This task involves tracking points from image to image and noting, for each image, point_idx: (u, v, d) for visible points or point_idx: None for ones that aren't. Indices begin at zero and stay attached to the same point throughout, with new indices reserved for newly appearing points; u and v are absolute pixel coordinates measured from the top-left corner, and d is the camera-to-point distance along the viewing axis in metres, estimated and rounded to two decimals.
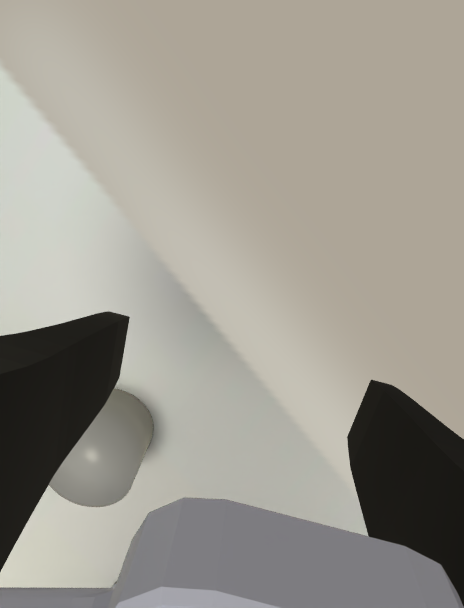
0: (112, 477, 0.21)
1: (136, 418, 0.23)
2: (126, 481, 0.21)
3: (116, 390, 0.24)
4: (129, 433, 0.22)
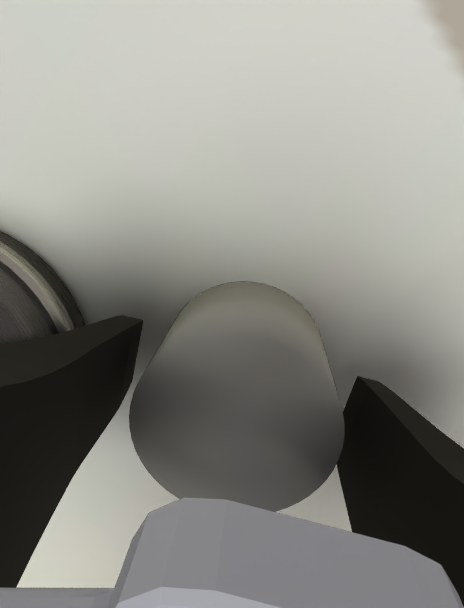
0: (293, 450, 0.10)
1: (314, 333, 0.11)
2: (323, 458, 0.10)
3: (261, 284, 0.12)
4: (321, 355, 0.10)
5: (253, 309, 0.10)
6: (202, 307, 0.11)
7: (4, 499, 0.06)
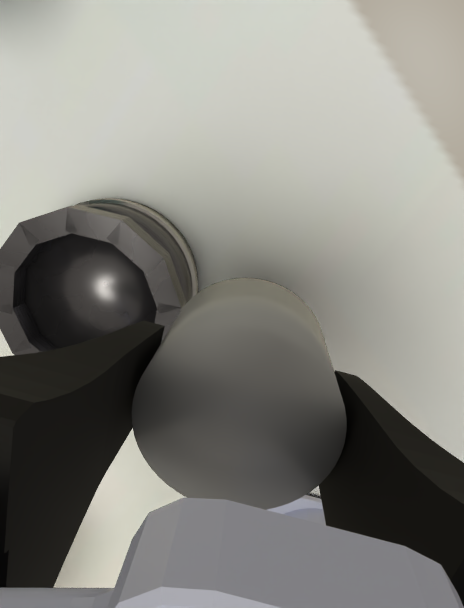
0: (295, 445, 0.10)
1: (316, 329, 0.11)
2: (325, 454, 0.10)
3: (263, 281, 0.12)
4: (323, 351, 0.10)
5: (255, 305, 0.10)
6: (204, 303, 0.11)
7: (46, 510, 0.06)
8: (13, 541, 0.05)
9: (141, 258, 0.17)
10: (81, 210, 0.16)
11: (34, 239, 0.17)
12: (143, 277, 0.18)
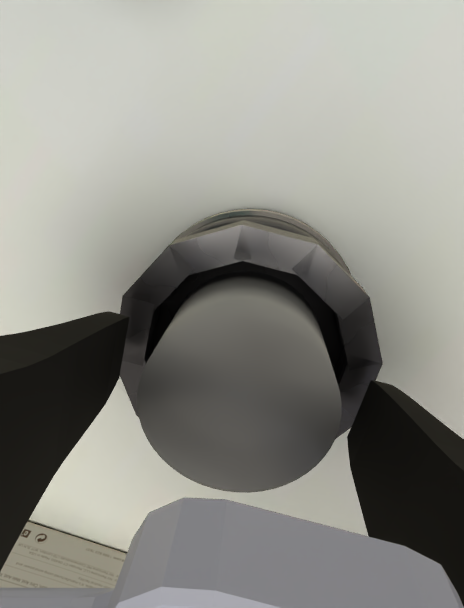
0: (292, 429, 0.10)
1: (313, 320, 0.12)
2: (321, 437, 0.10)
3: (262, 274, 0.13)
4: (320, 340, 0.11)
5: (256, 295, 0.11)
6: (207, 294, 0.11)
7: None
8: None
9: (337, 296, 0.12)
10: (260, 229, 0.12)
11: (187, 268, 0.12)
12: (320, 318, 0.13)
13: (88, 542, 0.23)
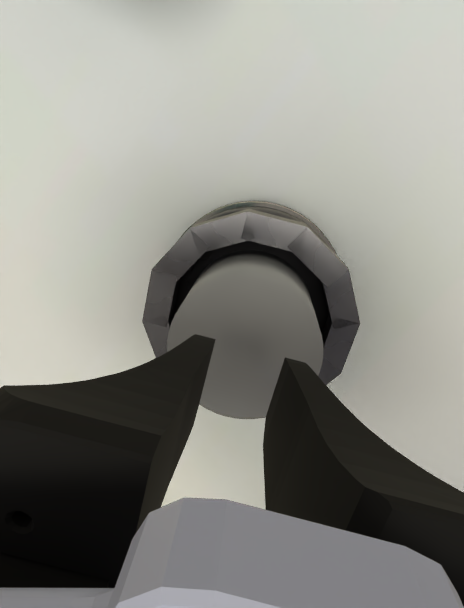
0: None
1: (304, 287, 0.15)
2: None
3: (263, 252, 0.16)
4: (307, 299, 0.14)
5: (258, 265, 0.14)
6: (219, 266, 0.14)
7: None
8: None
9: (323, 269, 0.15)
10: (262, 215, 0.15)
11: (204, 246, 0.15)
12: (310, 288, 0.16)
13: None
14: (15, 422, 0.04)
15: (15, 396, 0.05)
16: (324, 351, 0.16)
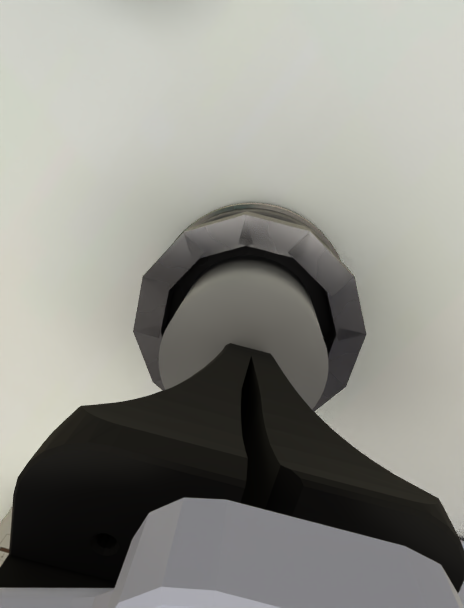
0: None
1: (306, 295, 0.14)
2: (312, 389, 0.12)
3: (262, 258, 0.15)
4: (311, 309, 0.13)
5: (257, 273, 0.13)
6: (215, 273, 0.13)
7: None
8: None
9: (327, 276, 0.14)
10: (261, 219, 0.14)
11: (199, 252, 0.14)
12: (313, 297, 0.15)
13: None
14: (107, 446, 0.04)
15: (99, 418, 0.05)
16: None
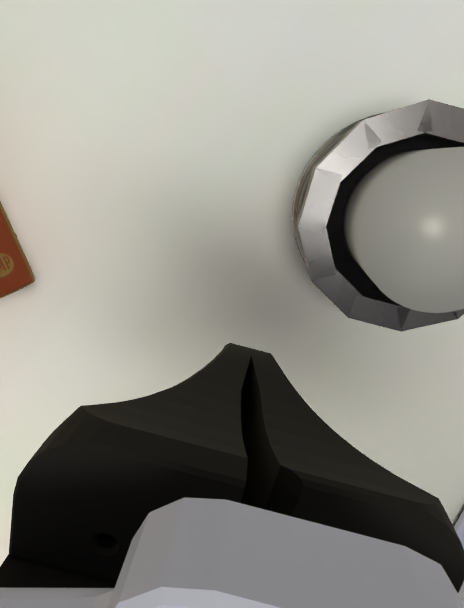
0: None
1: None
2: None
3: None
4: None
5: None
6: (401, 155, 0.14)
7: None
8: None
9: None
10: (443, 104, 0.14)
11: (376, 140, 0.14)
12: None
13: None
14: (107, 446, 0.04)
15: (99, 418, 0.05)
16: None
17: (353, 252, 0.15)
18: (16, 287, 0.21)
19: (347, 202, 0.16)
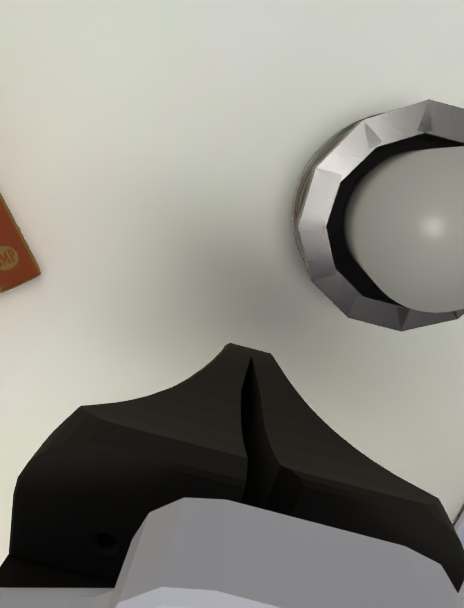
0: None
1: None
2: None
3: None
4: None
5: None
6: (401, 155, 0.14)
7: None
8: None
9: None
10: (443, 104, 0.14)
11: (376, 140, 0.14)
12: None
13: None
14: (107, 446, 0.04)
15: (99, 418, 0.05)
16: None
17: (353, 252, 0.15)
18: (21, 279, 0.21)
19: (347, 202, 0.16)
